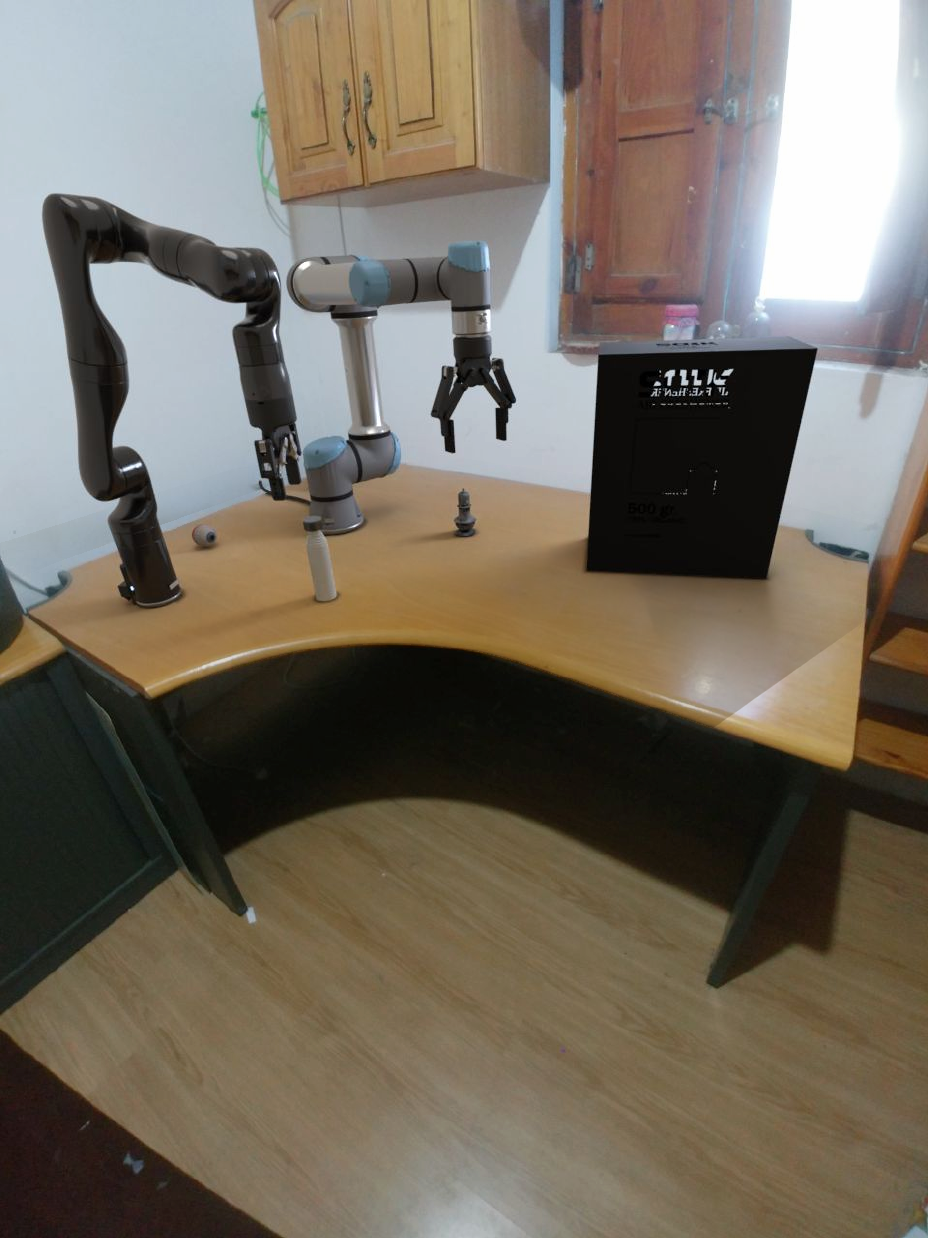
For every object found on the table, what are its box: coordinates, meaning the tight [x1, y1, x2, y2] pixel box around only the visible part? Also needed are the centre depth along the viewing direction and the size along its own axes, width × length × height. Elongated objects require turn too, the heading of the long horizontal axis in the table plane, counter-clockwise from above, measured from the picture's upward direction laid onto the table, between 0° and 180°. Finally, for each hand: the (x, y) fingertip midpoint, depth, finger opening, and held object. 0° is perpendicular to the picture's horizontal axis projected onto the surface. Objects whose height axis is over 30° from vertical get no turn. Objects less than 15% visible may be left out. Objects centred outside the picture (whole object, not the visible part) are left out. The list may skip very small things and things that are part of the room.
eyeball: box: [191, 523, 218, 548], centre depth 159 cm, size 6×6×6 cm
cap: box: [302, 516, 323, 533], centre depth 123 cm, size 4×4×2 cm
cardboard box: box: [585, 335, 819, 580], centre depth 129 cm, size 38×20×45 cm, turn 78°
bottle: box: [305, 530, 338, 602], centre depth 127 cm, size 4×4×18 cm
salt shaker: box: [453, 487, 477, 537], centre depth 157 cm, size 6×6×12 cm
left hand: (288, 491), depth 104 cm, fingers open, 8 cm apart
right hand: (476, 445), depth 127 cm, fingers open, 13 cm apart
